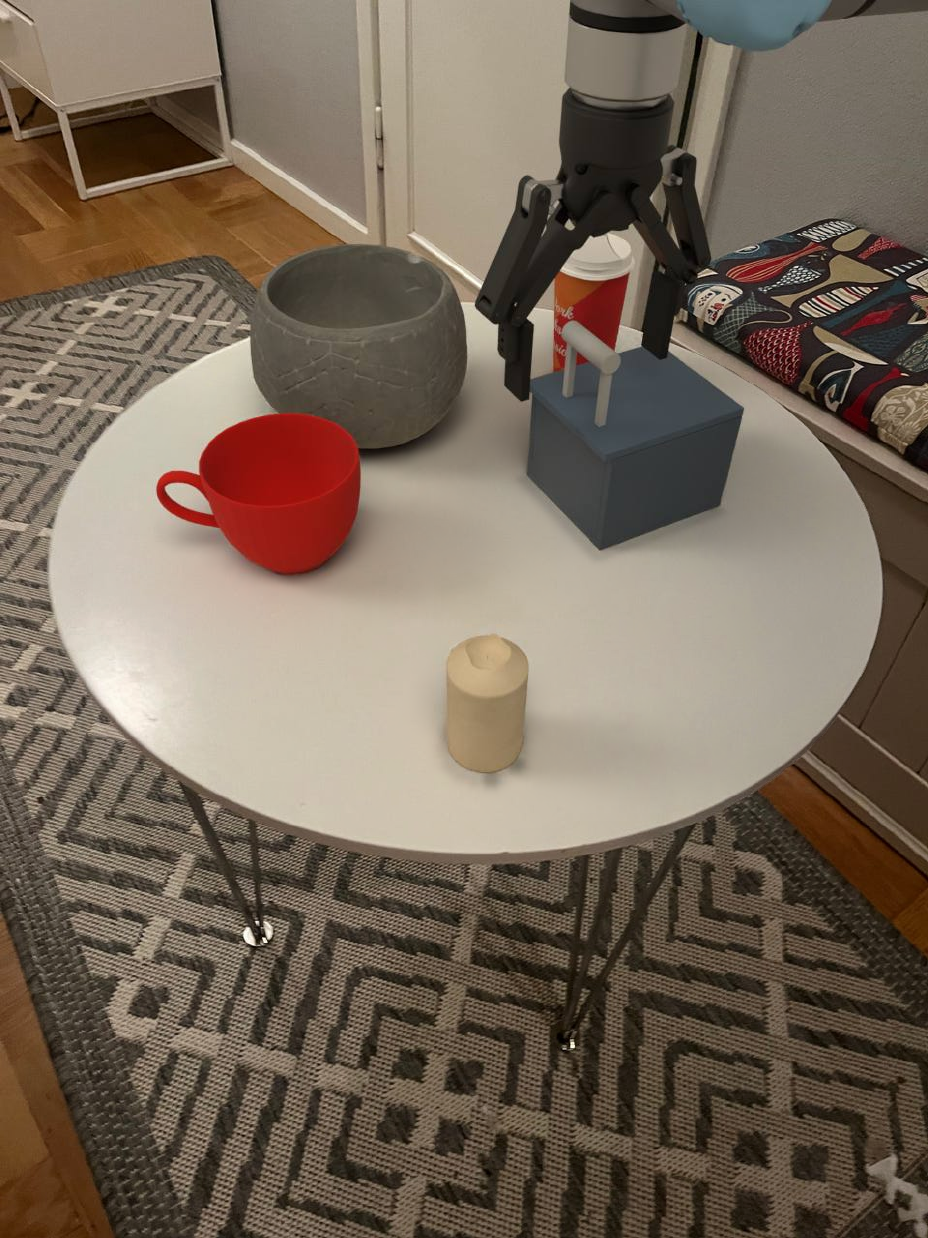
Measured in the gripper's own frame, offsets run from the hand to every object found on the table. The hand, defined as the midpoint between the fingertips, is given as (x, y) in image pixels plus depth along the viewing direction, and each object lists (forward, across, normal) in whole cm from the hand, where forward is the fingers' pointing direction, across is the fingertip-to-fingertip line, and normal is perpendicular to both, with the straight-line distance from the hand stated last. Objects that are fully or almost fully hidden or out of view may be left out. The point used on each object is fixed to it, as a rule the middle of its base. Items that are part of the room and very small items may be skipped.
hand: (587, 371), depth 79 cm
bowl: (+14, +11, -22) cm, 28 cm away
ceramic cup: (+14, +27, -7) cm, 31 cm away
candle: (+14, +21, +20) cm, 32 cm away
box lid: (+4, -5, 0) cm, 7 cm away
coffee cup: (+14, -13, -18) cm, 26 cm away
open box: (+14, -6, 0) cm, 15 cm away
